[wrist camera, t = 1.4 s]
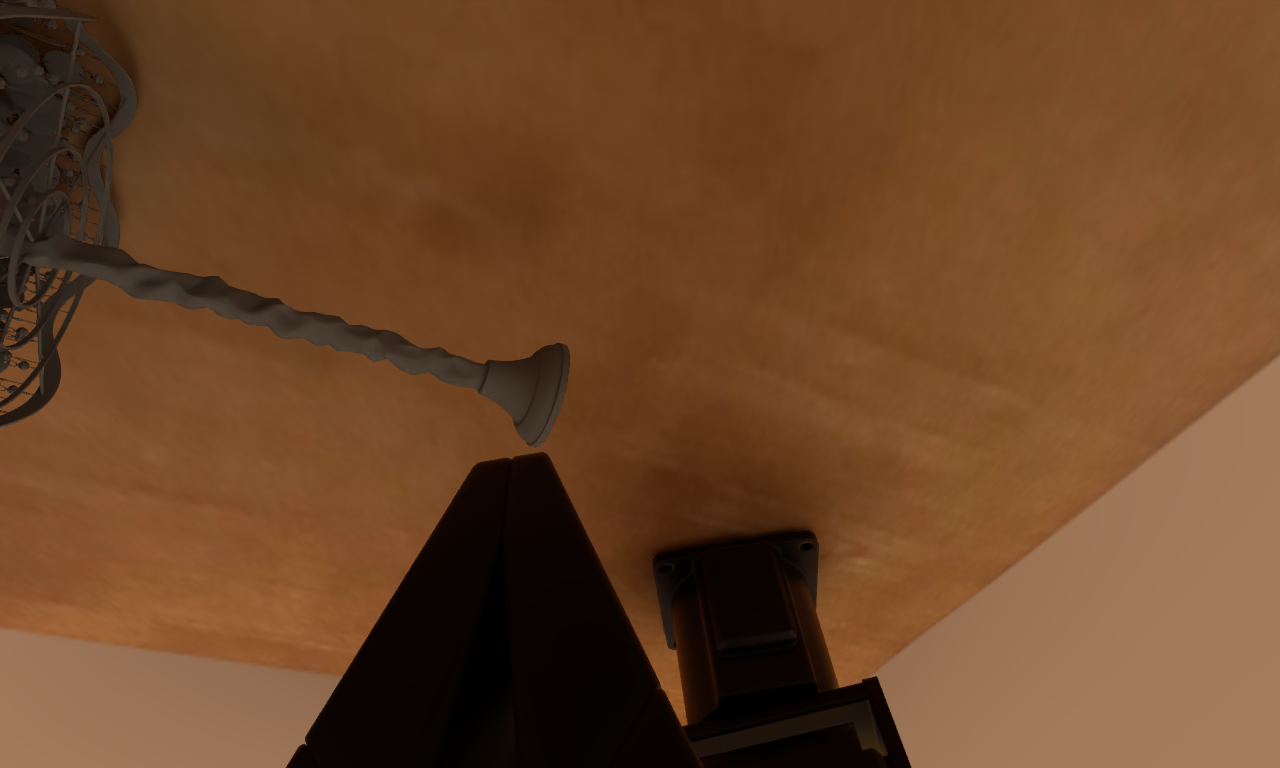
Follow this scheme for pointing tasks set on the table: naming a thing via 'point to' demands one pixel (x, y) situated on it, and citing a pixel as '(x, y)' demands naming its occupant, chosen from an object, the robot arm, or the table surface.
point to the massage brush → (7, 229)
